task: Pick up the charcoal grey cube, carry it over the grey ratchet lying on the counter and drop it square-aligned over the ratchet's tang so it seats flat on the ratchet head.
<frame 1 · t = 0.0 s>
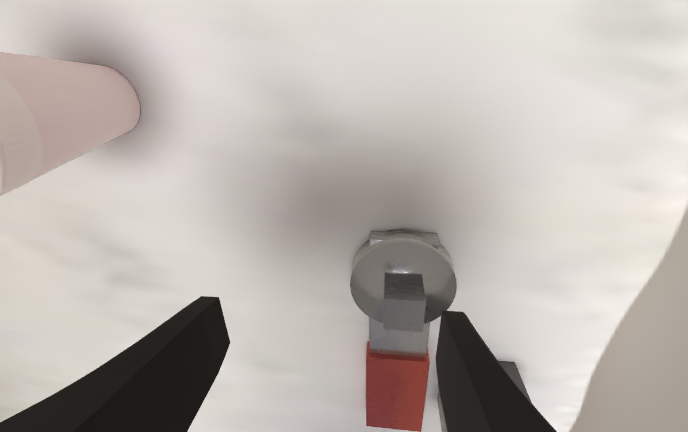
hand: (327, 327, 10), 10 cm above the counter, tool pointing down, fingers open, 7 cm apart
smoothie: (111, 100, 19), on the counter
charcoal grey cube: (473, 382, 25), on the counter
ratchet: (397, 337, 24), on the counter
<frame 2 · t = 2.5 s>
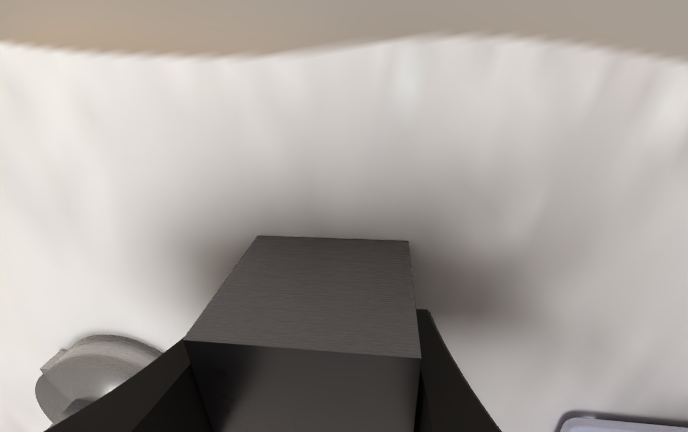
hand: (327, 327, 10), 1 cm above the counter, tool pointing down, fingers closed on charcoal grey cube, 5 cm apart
charcoal grey cube: (333, 298, 12), on the counter, touching gripper
ratchet: (254, 392, 15), on the counter
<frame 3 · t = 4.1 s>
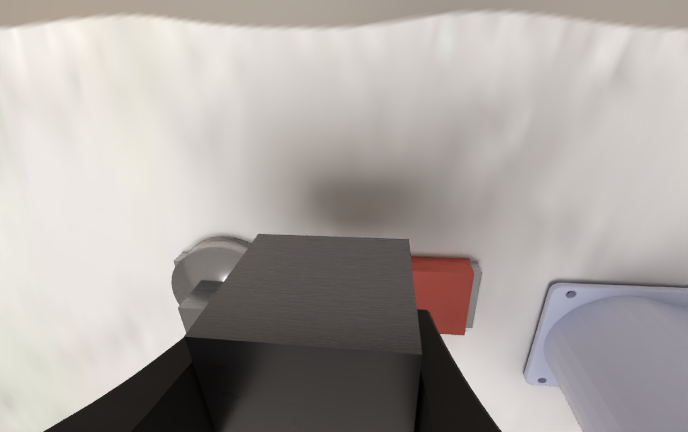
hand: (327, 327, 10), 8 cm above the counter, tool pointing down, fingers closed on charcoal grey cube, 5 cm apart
charcoal grey cube: (334, 296, 12), point 7 cm above the counter, touching gripper
ratchet: (324, 281, 21), on the counter
when the fingers open (4 cm above the counter, at t = 6.1 s): charcoal grey cube drops 1 cm, resting on ratchet.
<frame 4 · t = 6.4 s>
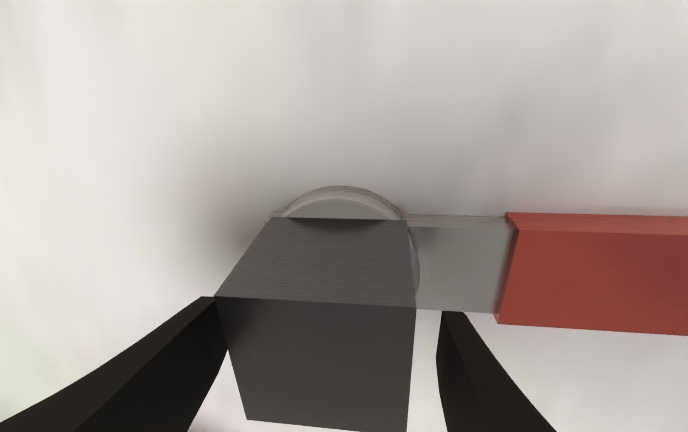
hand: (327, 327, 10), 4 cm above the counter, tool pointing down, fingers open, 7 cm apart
charcoal grey cube: (339, 274, 13), point 2 cm above the counter, touching ratchet
ratchet: (482, 256, 14), on the counter, touching charcoal grey cube
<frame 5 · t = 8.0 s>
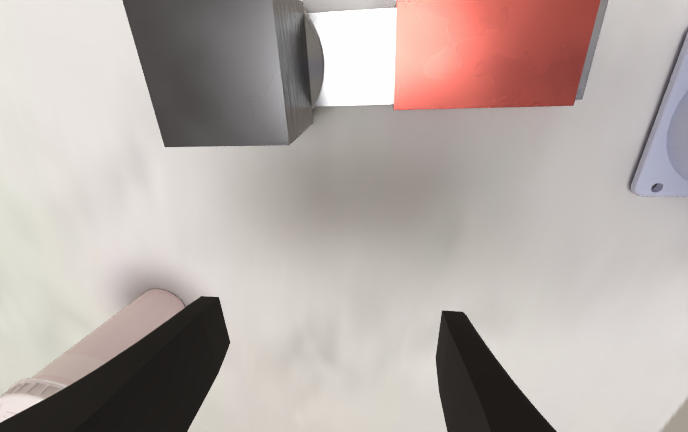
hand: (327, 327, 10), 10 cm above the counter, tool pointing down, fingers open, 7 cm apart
smoothie: (165, 305, 26), on the counter
charcoal grey cube: (256, 69, 15), point 2 cm above the counter, touching ratchet
ratchet: (384, 59, 16), on the counter, touching charcoal grey cube
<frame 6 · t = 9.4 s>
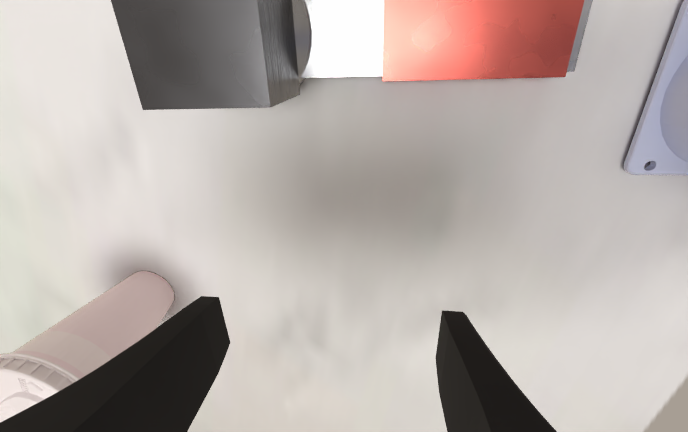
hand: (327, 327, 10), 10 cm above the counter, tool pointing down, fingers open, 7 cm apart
smoothie: (153, 288, 25), on the counter
charcoal grey cube: (241, 37, 15), point 2 cm above the counter, touching ratchet
ratchet: (373, 30, 16), on the counter, touching charcoal grey cube
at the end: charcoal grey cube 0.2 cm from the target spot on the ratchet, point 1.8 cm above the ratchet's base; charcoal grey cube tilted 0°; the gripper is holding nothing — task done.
